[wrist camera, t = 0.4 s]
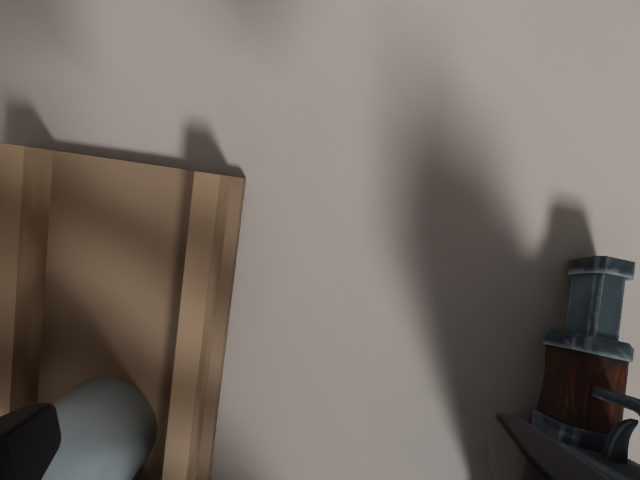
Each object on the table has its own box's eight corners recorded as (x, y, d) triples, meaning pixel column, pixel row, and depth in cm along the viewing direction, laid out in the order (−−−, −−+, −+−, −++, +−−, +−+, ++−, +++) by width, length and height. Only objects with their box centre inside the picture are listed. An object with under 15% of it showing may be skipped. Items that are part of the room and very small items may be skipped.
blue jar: (152, 480, 23) (56, 630, 15) (54, 464, 23) (-92, 605, 16) (162, 385, 23) (66, 492, 15) (61, 369, 23) (-88, 465, 15)
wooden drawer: (199, 557, 24) (169, 637, 20) (6, 524, 25) (-66, 596, 20) (245, 178, 22) (222, 175, 17) (27, 146, 22) (-50, 135, 18)
